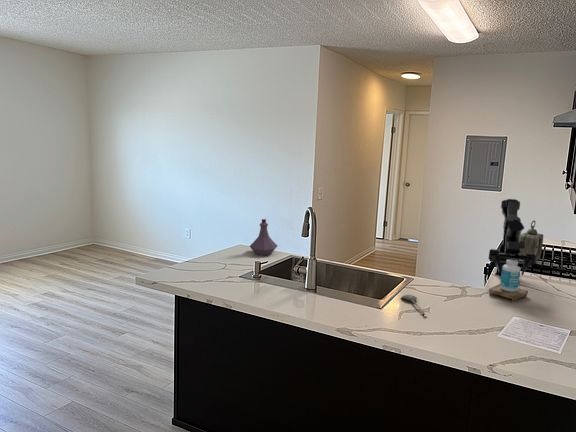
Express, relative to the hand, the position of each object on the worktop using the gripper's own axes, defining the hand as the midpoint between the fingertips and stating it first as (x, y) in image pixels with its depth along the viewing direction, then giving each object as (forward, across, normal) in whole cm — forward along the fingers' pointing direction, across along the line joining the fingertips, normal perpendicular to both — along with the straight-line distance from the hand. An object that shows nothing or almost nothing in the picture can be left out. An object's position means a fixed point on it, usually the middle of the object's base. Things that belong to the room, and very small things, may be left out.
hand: (511, 273), depth 199 cm
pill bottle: (+5, 0, +7) cm, 8 cm away
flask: (-3, -128, +19) cm, 129 cm away
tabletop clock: (-33, +13, +49) cm, 60 cm away
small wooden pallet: (+7, 0, +9) cm, 11 cm away
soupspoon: (+28, -37, -12) cm, 48 cm away
